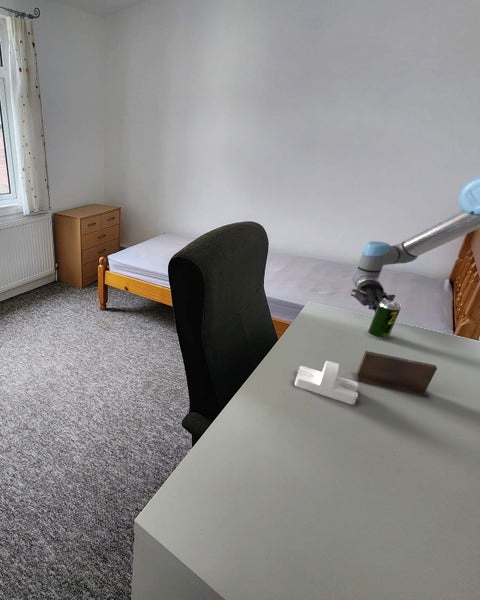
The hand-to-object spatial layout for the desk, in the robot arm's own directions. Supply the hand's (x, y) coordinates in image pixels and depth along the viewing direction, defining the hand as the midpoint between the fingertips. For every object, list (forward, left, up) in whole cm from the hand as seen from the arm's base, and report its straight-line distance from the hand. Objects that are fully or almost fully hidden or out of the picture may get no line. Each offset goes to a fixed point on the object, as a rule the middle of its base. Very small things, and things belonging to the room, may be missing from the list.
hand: (380, 312), depth 114 cm
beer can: (0, +5, -6) cm, 8 cm away
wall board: (+2, +34, -6) cm, 35 cm away
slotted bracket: (+17, +44, -6) cm, 48 cm away
